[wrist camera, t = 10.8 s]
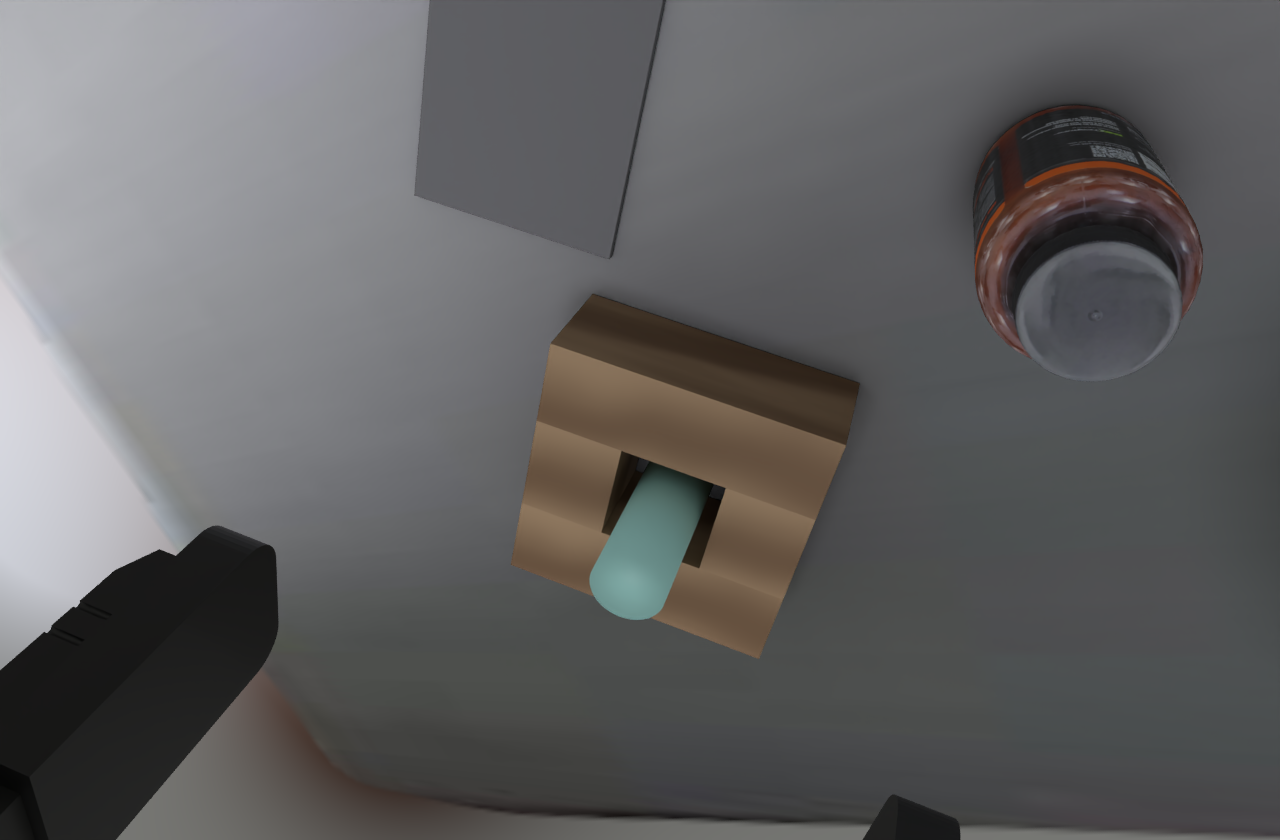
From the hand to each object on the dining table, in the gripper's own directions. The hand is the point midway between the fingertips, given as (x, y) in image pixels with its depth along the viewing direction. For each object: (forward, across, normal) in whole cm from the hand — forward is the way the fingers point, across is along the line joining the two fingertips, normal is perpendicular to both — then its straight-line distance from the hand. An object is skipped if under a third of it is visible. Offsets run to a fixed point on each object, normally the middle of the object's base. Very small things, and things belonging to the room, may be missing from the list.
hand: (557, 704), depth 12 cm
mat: (+29, +12, +3) cm, 31 cm away
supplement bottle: (+29, -8, +1) cm, 30 cm away
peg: (+28, +2, +17) cm, 33 cm away
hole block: (+28, +2, +17) cm, 33 cm away
